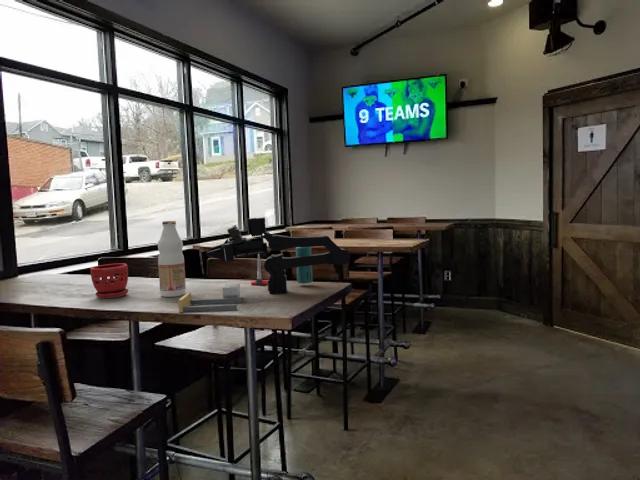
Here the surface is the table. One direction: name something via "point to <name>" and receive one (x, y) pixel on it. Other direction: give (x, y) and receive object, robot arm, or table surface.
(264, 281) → the receipt spike
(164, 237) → the fruit juice
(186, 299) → the guide rails
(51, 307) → the table surface
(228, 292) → the aluminium lock block
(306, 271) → the beverage bottle
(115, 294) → the plant pot
